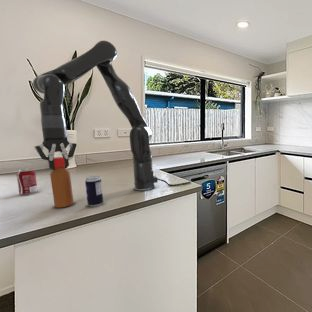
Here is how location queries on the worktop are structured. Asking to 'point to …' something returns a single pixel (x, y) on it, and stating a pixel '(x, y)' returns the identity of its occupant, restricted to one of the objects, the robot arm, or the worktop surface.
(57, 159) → the cap
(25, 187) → the red food package
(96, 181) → the beverage can
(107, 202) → the worktop surface
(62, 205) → the sauce bottle
